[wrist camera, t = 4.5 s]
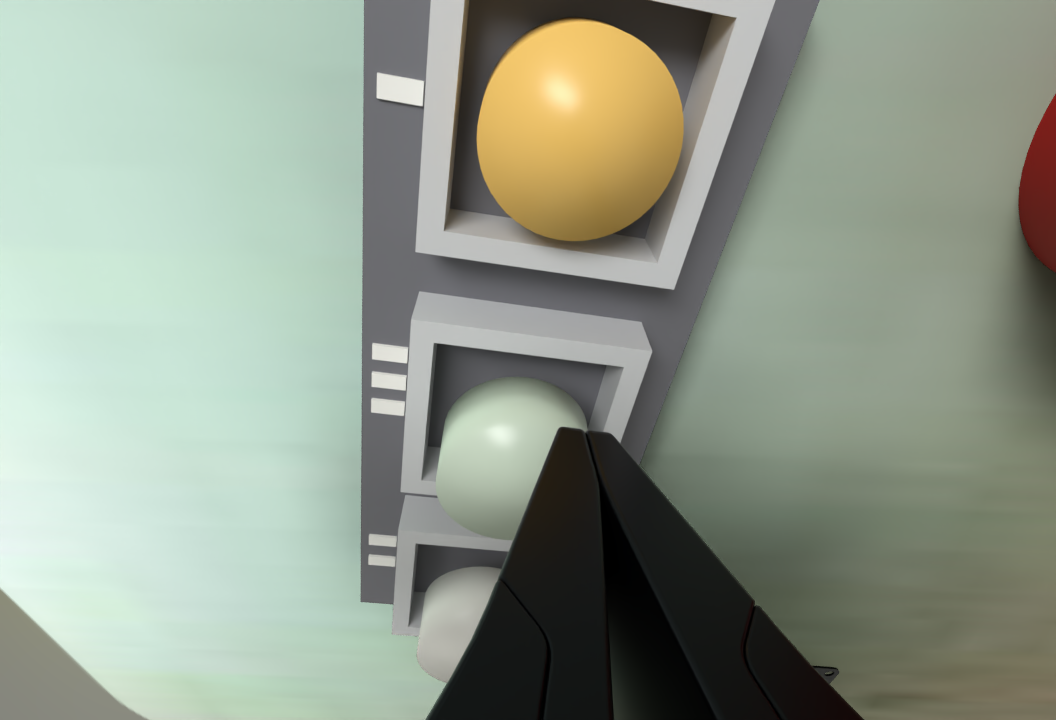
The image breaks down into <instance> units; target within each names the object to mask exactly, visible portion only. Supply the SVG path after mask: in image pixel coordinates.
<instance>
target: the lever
mask: <svg viewBox="0 0 1056 720" xmlns="http://www.w3.org/2000/svg"><path fill="white" fill-rule="evenodd" d="M1019 216H1020V223H1021V227H1022V231H1023V234H1024V236H1025V239H1026V241H1027V243H1028V246H1029V247H1030V249H1031V250H1032V251H1033V253H1034V254H1035V256H1036V257H1037V258H1038V259H1039V260H1040V261H1041V262H1042V263H1043V264H1044V265H1045V266H1047V267H1048V268H1049V269H1051V270H1052V271H1054V272H1055V273H1056V94H1055V96H1054V98H1053V99H1052V101H1051V103H1050V104H1049V106H1048V108H1047V110H1046V112H1045V114H1044V116H1043V118H1042V120H1041V122H1040V124H1039V126H1038V128H1037V130H1036V132H1035V135H1034V137H1033V140H1032V142H1031V145H1030V147H1029V150H1028V153H1027V156H1026V160H1025V163H1024V167H1023V170H1022V176H1021V182H1020V187H1019Z"/></svg>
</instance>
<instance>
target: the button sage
mask: <svg viewBox="0 0 1056 720" xmlns="http://www.w3.org/2000/svg"><path fill="white" fill-rule="evenodd" d="M559 427H570V428H578V429H582V430H583V431H585V432H586V431H588V428H587V422H586V419H585V415H584V413H583V411H582V409H581V407H580V406H579V405H578V403H577V402H576V401H575V400H574V399H573V398H572V397H571V396H570V395H569V394H568V393H566V392H565V391H564V390H562V389H560V388H559V387H557V386H555V385H553V384H551V383H548V382H545V381H542V380H539V379H534V378H528V377H505V378H498V379H494V380H490V381H487V382H484V383H482V384H479V385H477V386H475V387H473V388H471V389H470V390H468V391H467V392H465V393H464V394H463V395H462V396H461V397H460V398H458V399H457V400H456V402H455V403H454V404H453V405H452V407H451V409H450V410H449V412H448V414H447V417H446V419H445V424H444V430H443V436H442V443H441V449H440V456H439V463H438V469H437V476H436V493H437V497H438V500H439V502H440V504H441V506H442V507H443V509H444V510H445V512H446V513H447V514H448V515H449V516H450V517H451V518H452V519H453V520H454V521H455V522H457V523H458V524H459V525H461V526H462V527H464V528H466V529H468V530H470V531H472V532H474V533H477V534H479V535H482V536H486V537H490V538H494V539H501V540H513V539H514V537H515V534H516V532H517V529H518V527H519V524H520V522H521V519H522V517H523V514H524V512H525V509H526V507H527V504H528V502H529V499H530V497H531V494H532V492H533V489H534V487H535V484H536V482H537V479H538V477H539V475H540V472H541V470H542V467H543V465H544V462H545V460H546V457H547V455H548V452H549V450H550V447H551V445H552V442H553V440H554V437H555V435H556V432H557V430H558V428H559Z"/></svg>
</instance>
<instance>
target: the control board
mask: <svg viewBox="0 0 1056 720" xmlns="http://www.w3.org/2000/svg"><path fill="white" fill-rule="evenodd" d="M818 3H819V0H364V117H363V291H362V464H361V602H369V603H383V604H394V606H393V622H392V635H406V636H419V634H420V627H421V620H422V612H423V605H424V598H425V593H426V591H427V589H428V587H429V586H430V584H431V583H432V582H433V581H434V580H436V579H437V578H438V577H440V576H442V575H444V574H446V573H448V572H450V571H454V570H457V569H461V568H467V567H480V566H481V567H494V568H499V569H502V566H503V564H504V561H505V559H506V556H507V554H508V552H509V549H510V547H511V544H512V542H513V540H501V539H494V538H490V537H486V536H482V535H479V534H477V533H474V532H472V531H470V530H468V529H466V528H464V527H462V526H461V525H459V524H458V523H457V522H455V521H454V520H453V519H452V518H451V517H450V516H449V515H448V514H447V513H446V512H445V510H444V509H443V507H442V506H441V504H440V502H439V500H438V497H437V493H436V476H437V469H438V463H439V456H440V449H441V443H442V436H443V430H444V424H445V419H446V417H447V414H448V412H449V410H450V409H451V407H452V405H453V404H454V403H455V402H456V400H457V399H458V398H460V397H461V396H462V395H463V394H464V393H465V392H467V391H468V390H470V389H471V388H473V387H475V386H477V385H479V384H482V383H484V382H487V381H490V380H494V379H498V378H505V377H528V378H534V379H539V380H542V381H545V382H548V383H551V384H553V385H555V386H557V387H559V388H560V389H562V390H564V391H565V392H566V393H568V394H569V395H570V396H571V397H572V398H573V399H574V400H575V401H576V402H577V403H578V405H579V406H580V407H581V409H582V411H583V413H584V415H585V419H586V422H587V428H588V430H594V431H602V432H608V433H611V434H612V435H613V436H614V437H615V438H616V439H617V440H618V441H619V443H620V444H621V445H622V446H623V447H624V448H625V450H626V451H627V452H628V453H629V454H630V455H631V457H632V458H633V459H634V460H635V461H636V462H637V464H638V465H640V462H641V460H642V457H643V454H644V452H645V449H646V447H647V444H648V442H649V439H650V436H651V434H652V431H653V429H654V426H655V424H656V421H657V418H658V416H659V413H660V411H661V408H662V405H663V403H664V400H665V398H666V395H667V393H668V390H669V387H670V385H671V382H672V380H673V377H674V375H675V372H676V369H677V367H678V364H679V362H680V359H681V356H682V354H683V351H684V349H685V346H686V344H687V341H688V338H689V336H690V333H691V331H692V328H693V325H694V323H695V320H696V318H697V315H698V313H699V310H700V307H701V305H702V302H703V300H704V297H705V295H706V292H707V289H708V287H709V284H710V282H711V279H712V276H713V274H714V271H715V269H716V266H717V264H718V261H719V258H720V256H721V253H722V251H723V248H724V246H725V243H726V240H727V238H728V235H729V233H730V230H731V227H732V225H733V222H734V220H735V217H736V215H737V212H738V209H739V207H740V204H741V202H742V199H743V197H744V194H745V191H746V189H747V186H748V184H749V181H750V178H751V176H752V173H753V171H754V168H755V166H756V163H757V160H758V158H759V155H760V153H761V150H762V147H763V145H764V142H765V140H766V137H767V135H768V132H769V129H770V127H771V124H772V122H773V119H774V117H775V114H776V111H777V109H778V106H779V104H780V101H781V98H782V96H783V93H784V91H785V88H786V86H787V83H788V80H789V78H790V75H791V73H792V70H793V68H794V65H795V62H796V60H797V57H798V55H799V52H800V49H801V47H802V44H803V42H804V39H805V37H806V34H807V31H808V29H809V26H810V24H811V21H812V18H813V16H814V13H815V11H816V8H817V6H818ZM567 17H582V18H591V19H595V20H598V21H602V22H605V23H607V24H609V25H611V26H614V27H616V28H618V29H620V30H622V31H624V32H626V33H628V34H630V35H632V36H634V37H635V38H637V39H638V40H640V41H641V42H643V43H645V44H646V45H647V46H648V47H649V48H650V49H651V50H652V51H653V52H655V53H656V55H657V56H658V57H659V58H660V59H661V61H662V62H663V63H664V64H665V66H666V67H667V69H668V71H669V72H670V74H671V76H672V78H673V80H674V82H675V85H676V87H677V89H678V93H679V96H680V100H681V104H682V110H683V118H684V134H683V142H682V149H681V153H680V157H679V161H678V164H677V166H676V169H675V172H674V174H673V176H672V178H671V180H670V182H669V184H668V186H667V187H666V189H665V190H664V192H663V193H662V195H661V196H660V198H659V199H658V200H657V201H656V202H655V203H654V205H653V206H652V207H651V208H650V209H649V210H648V211H647V212H646V213H645V214H643V215H642V216H641V217H640V218H639V219H637V220H636V221H634V222H633V223H632V224H630V225H628V226H627V227H625V228H623V229H621V230H620V231H617V232H615V233H612V234H610V235H608V236H604V237H601V238H597V239H592V240H585V241H564V240H557V239H552V238H548V237H545V236H542V235H539V234H536V233H534V232H532V231H531V230H529V229H527V228H525V227H523V226H522V225H520V224H519V223H518V222H516V221H515V220H514V219H512V218H511V217H510V216H509V215H508V214H507V213H506V212H505V211H504V210H503V209H502V207H501V206H500V205H499V204H498V203H497V201H496V200H495V198H494V197H493V195H492V194H491V192H490V190H489V188H488V186H487V184H486V182H485V180H484V177H483V174H482V171H481V168H480V163H479V158H478V152H477V125H478V119H479V114H480V109H481V105H482V101H483V96H484V92H485V89H486V86H487V83H488V80H489V78H490V75H491V73H492V71H493V69H494V67H495V66H496V64H497V62H498V61H499V59H500V57H501V56H502V55H503V54H504V52H505V51H506V50H507V49H508V48H509V47H510V46H511V45H512V44H513V43H514V42H515V41H516V40H517V39H518V38H519V37H521V36H522V35H523V34H525V33H526V32H528V31H529V30H531V29H533V28H535V27H537V26H539V25H540V24H543V23H546V22H549V21H552V20H556V19H561V18H567Z"/></svg>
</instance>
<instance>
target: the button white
mask: <svg viewBox="0 0 1056 720" xmlns="http://www.w3.org/2000/svg"><path fill="white" fill-rule="evenodd" d="M500 571H501V569H499V568H494V567H481V566H480V567H467V568H461V569H457V570H454V571H450V572H448V573H446V574H444V575H442V576H440V577H438V578H437V579H436V580H434V581H433V582H432V583H431V584H430V586H429V587H428V589H427V591H426V593H425V598H424V605H423V612H422V620H421V627H420V634H419V641H418V648H417V660H418V663H419V664H420V666H421V667H422V669H423V670H424V671H425V672H427V673H428V674H429V675H431V676H432V677H434V678H436V679H438V680H440V681H443V682H446V683H447V682H448V681H449V679H450V677H451V675H452V674H453V672H454V670H455V668H456V666H457V664H458V663H459V661H460V659H461V657H462V655H463V653H464V652H465V650H466V648H467V646H468V644H469V642H470V641H471V639H472V636H473V634H474V632H475V630H476V627H477V625H478V623H479V621H480V619H481V616H482V614H483V612H484V610H485V608H486V605H487V603H488V600H489V598H490V595H491V593H492V590H493V588H494V585H495V583H496V582H497V580H498V576H499V574H500Z"/></svg>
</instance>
